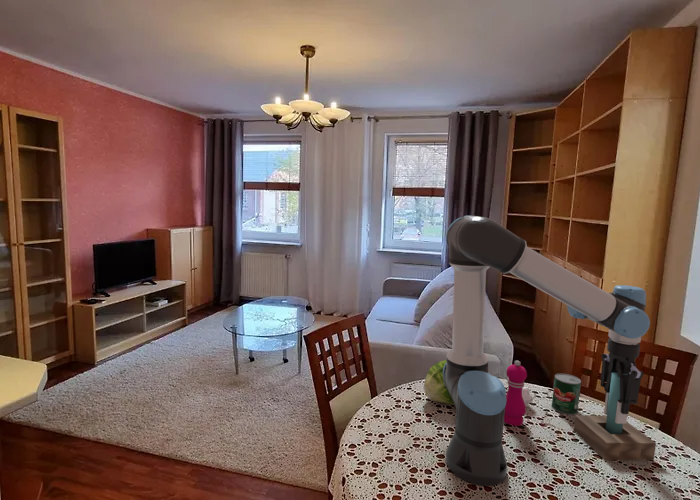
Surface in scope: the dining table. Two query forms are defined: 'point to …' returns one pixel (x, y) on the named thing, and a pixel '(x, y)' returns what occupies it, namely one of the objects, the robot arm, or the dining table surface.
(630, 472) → the dining table surface
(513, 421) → the pepper mill
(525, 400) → the white citrus juicer
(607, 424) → the peg
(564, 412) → the canned tomato
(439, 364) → the lettuce
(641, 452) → the socket block
